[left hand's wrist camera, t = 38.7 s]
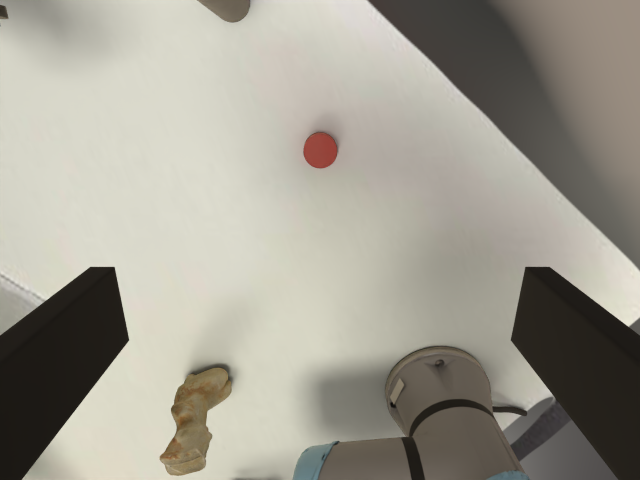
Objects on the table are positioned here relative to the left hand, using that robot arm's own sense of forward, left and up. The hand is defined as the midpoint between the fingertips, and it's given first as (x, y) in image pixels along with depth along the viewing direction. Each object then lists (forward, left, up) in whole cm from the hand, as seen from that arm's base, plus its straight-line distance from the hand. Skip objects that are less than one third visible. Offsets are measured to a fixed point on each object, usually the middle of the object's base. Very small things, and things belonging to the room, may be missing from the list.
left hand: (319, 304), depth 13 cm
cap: (0, 0, -35) cm, 35 cm away
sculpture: (-8, +37, -37) cm, 53 cm away
